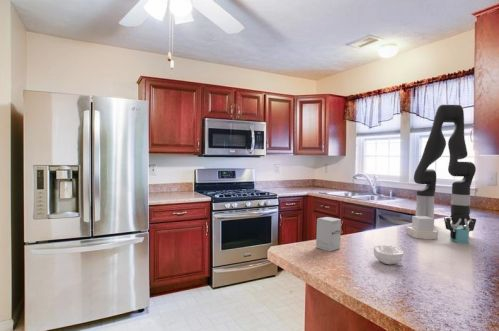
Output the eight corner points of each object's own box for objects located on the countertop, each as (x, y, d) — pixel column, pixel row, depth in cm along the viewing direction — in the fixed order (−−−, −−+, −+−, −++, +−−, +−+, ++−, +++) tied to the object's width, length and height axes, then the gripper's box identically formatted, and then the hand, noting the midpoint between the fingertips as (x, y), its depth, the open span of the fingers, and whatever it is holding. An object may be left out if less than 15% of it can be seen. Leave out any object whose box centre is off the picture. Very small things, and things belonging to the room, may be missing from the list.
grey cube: (412, 227, 153) (412, 215, 152) (426, 227, 152) (426, 216, 152) (419, 230, 146) (419, 218, 145) (433, 231, 145) (434, 219, 145)
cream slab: (406, 234, 154) (406, 226, 154) (426, 234, 154) (426, 227, 154) (416, 239, 144) (417, 231, 144) (437, 240, 144) (438, 231, 144)
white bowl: (404, 260, 111) (404, 242, 111) (402, 270, 101) (403, 251, 101) (375, 255, 116) (375, 238, 116) (370, 264, 106) (371, 246, 106)
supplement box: (330, 252, 120) (331, 221, 120) (315, 247, 126) (316, 218, 125) (340, 248, 125) (341, 219, 124) (326, 244, 130) (326, 216, 130)
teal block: (450, 239, 143) (450, 227, 143) (460, 240, 143) (461, 227, 143) (457, 242, 138) (457, 229, 138) (468, 242, 138) (468, 230, 138)
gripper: (470, 202, 144) (468, 237, 144) (440, 202, 144) (439, 237, 144) (481, 205, 136) (480, 242, 137) (450, 204, 137) (449, 241, 137)
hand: (459, 239), depth 140 cm, fingers closed on teal block, 5 cm apart
